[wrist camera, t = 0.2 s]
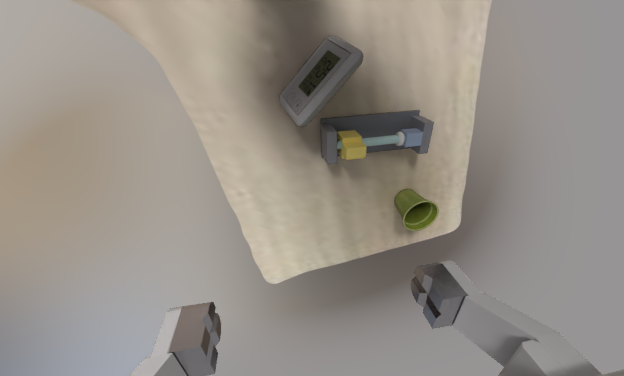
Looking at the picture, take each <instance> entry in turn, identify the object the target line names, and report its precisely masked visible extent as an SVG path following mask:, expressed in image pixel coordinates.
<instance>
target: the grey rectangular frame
mask: <svg viewBox="0 0 624 376" xmlns="http://www.w3.org/2000/svg"><path fill="white" fill-rule="evenodd" d="M419 112H420V111H419V110H414V111H403V112H392V113H380V114H369V115H358V116H347V117H336V118H325V119H321V152H322V158H323V157H324V158H325V160H326V162H327V164H335V163H337V156H340V155H339V153H338V152H337V149H341V141H337V132H340V131H350V130H355V131H356V132H357V133H358V134H360V135H361V136H362V139H361V141H362V142H363V143H364V144H365V146H366V153H369V152H378V151H387V150H396V149H405V148H412V149H413V150H414V151H416V152H417V153H418V154H423V153H427V152H428V148H429V143H430V138H431V133H432V129H433V124H434V122H432V121H430V120H428V119H426V118H424V117H422V116H420V115H419Z"/></svg>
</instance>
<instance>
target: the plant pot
mask: <svg viewBox="0 0 624 376" xmlns="http://www.w3.org/2000/svg"><path fill="white" fill-rule="evenodd" d="M395 204H396V206H397V208H398V210H399V212H400V214H401V216H402V220H403V225H404V226H405V228H406V229H408V230H411V231H418V230H422V229H424V228H426V227H428V226H429V225H431V224H432V223H433V222H434V221H435V219H436V218H437V216H438V213H439V209H438V206H437V205H436V204H435V203H434V202H432V201H428V200H426V199H424V198H423V197H421V196H420V195H418V194H417V193H416V192H414V191H413V190H411V189H405V190H402V191H401V192H400V193H399V194H398V195H397V196H396V197H395Z"/></svg>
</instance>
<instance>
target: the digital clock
mask: <svg viewBox="0 0 624 376" xmlns="http://www.w3.org/2000/svg"><path fill="white" fill-rule="evenodd" d="M362 61H363V53H362V52H361V51H360V50H359V49H357V48H356V47H354V46H352V45H350V44H348V43H347V42H345V41H343V40H341V39H340V38H338V37H336V36H328V37H327V38H326V39H325V40H324V41H323V42H322V44H321V45H320V46H319V47H318V49H317V50H316V51H315V52H314V53H313V55H312V56H311V57H310V58H309V60H308V61H307V62H306V63H305V65H304V66H303V67H302V68H301V70H300V71H299V72H298V73H297V75H296V76H295V77H294V78H293V80H292V81H291V82H290V83H289V85H288V86H287V87H286V88H285V90H284V91H283V92H282V93H281V95H280V103H281V105H282V106H283V108H284V109H285V110H286V112H287V113H288V114H289V116H290V117H291V118H292V120H293V121H294V122H295V123H296V125H298V126H299V127H304V126H307V125H308V124H309V123H310V122H311V121H312V119H313V118H314V117H315V116H316V115H317V114H318V113H319V112H320V110H321V109H322V108H323V107H324V106H325V105H326V104H327V103H328V101H329V100H330V99H331V98H332V97H333V96H334V95H335V93H336V92H337V91H338V90H339V89H340V88H341V87H342V85H343V84H344V83H345V82H346V81H347V80H348V79H349V78H350V76H351V75H352V74H353V73H354V72H355V71H356V69H357V68H358V67H359V66H360V65H361V63H362Z"/></svg>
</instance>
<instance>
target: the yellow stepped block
mask: <svg viewBox="0 0 624 376" xmlns="http://www.w3.org/2000/svg"><path fill="white" fill-rule="evenodd" d="M361 139H362V136H361V135H360V134H358V133H357V132H356V131H355V130H350V131H340V132H337V141H341V149H337V152H338V153H339V155H340V156H341V158H342V159H343V158H345V159H346V160H351V159H360V158H366V146H365V144H364V143H363V142H362V141H361Z"/></svg>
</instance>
